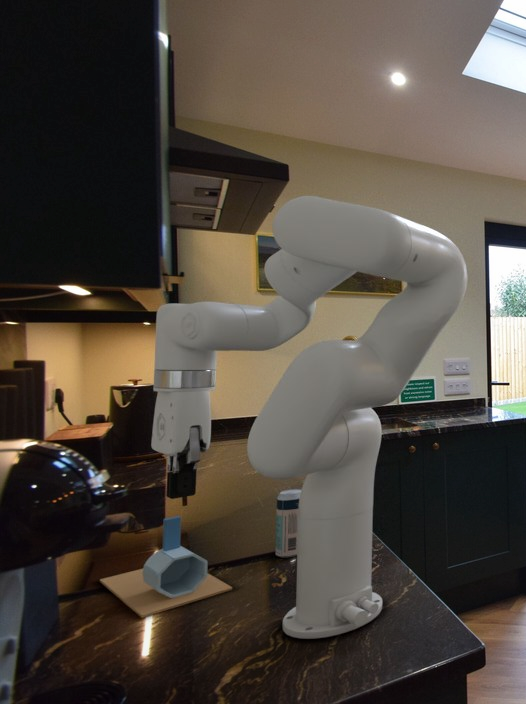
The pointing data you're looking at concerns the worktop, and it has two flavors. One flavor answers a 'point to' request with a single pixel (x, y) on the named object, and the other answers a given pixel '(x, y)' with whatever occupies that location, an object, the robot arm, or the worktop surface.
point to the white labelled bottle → (287, 523)
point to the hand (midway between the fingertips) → (181, 496)
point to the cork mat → (157, 593)
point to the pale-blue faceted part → (174, 564)
